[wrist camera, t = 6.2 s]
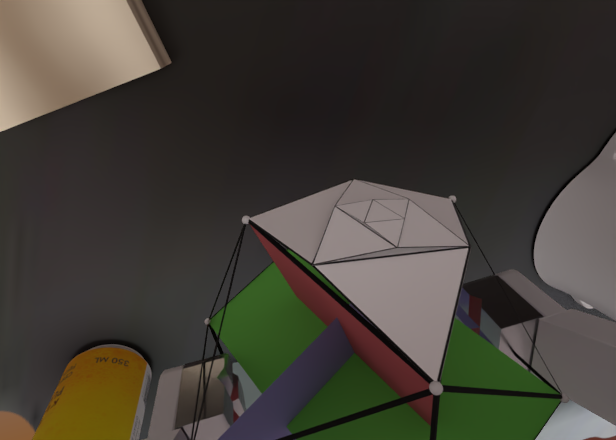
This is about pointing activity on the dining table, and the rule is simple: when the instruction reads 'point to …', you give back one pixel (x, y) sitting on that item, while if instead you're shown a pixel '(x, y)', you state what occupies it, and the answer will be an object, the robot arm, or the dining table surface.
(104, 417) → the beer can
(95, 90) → the oak base block
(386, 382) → the geometric puzzle
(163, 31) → the dining table surface
